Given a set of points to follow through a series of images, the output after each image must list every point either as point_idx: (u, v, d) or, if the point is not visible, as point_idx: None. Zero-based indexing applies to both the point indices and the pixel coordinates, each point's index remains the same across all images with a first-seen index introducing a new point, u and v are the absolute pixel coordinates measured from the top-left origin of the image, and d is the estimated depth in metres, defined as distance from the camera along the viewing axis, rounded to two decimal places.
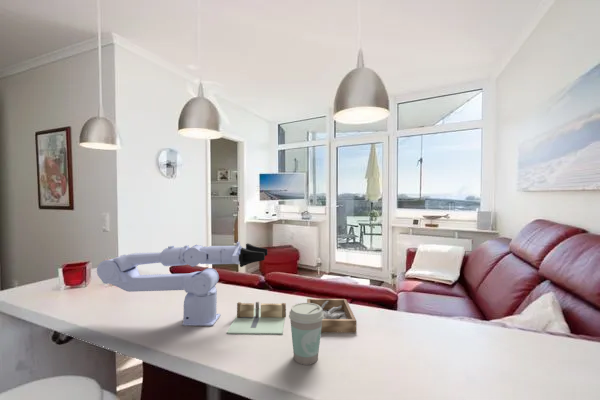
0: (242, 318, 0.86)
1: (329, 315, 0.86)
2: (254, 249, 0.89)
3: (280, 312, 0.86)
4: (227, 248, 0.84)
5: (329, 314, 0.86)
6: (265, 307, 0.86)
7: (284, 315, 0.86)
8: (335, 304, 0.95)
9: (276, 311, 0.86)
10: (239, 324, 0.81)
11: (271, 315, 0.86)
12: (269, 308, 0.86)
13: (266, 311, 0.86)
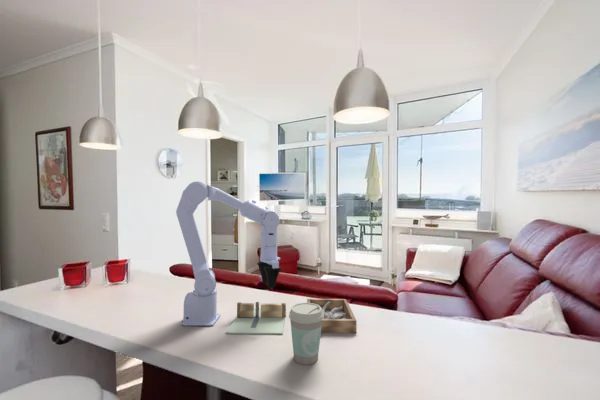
0: (242, 318, 0.86)
1: (331, 316, 0.85)
2: None
3: (280, 312, 0.86)
4: (276, 250, 0.92)
5: (331, 315, 0.85)
6: (265, 307, 0.86)
7: (284, 315, 0.86)
8: (335, 304, 0.95)
9: (276, 311, 0.86)
10: (239, 324, 0.81)
11: (271, 315, 0.86)
12: (269, 308, 0.86)
13: (266, 311, 0.86)
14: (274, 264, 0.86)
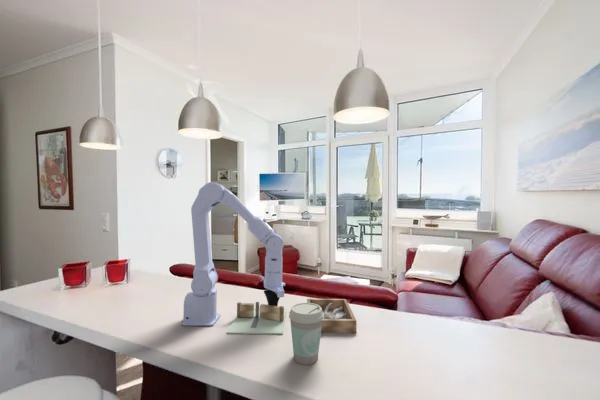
0: (242, 318, 0.86)
1: (334, 317, 0.84)
2: (276, 299, 0.88)
3: (277, 315, 0.84)
4: (281, 276, 0.87)
5: (334, 316, 0.84)
6: (264, 308, 0.86)
7: (281, 319, 0.84)
8: (335, 304, 0.95)
9: (274, 314, 0.84)
10: (239, 324, 0.81)
11: (270, 317, 0.85)
12: (267, 310, 0.85)
13: (265, 312, 0.86)
14: (279, 293, 0.81)
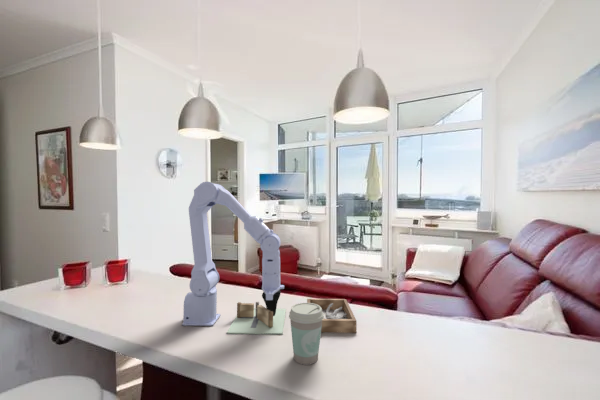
0: (242, 318, 0.86)
1: (335, 318, 0.83)
2: None
3: (267, 320, 0.81)
4: (277, 279, 0.83)
5: (335, 317, 0.84)
6: (259, 309, 0.85)
7: (269, 324, 0.80)
8: (335, 304, 0.95)
9: (265, 317, 0.82)
10: (239, 324, 0.81)
11: (262, 319, 0.83)
12: (261, 312, 0.84)
13: (260, 314, 0.84)
14: (267, 295, 0.77)
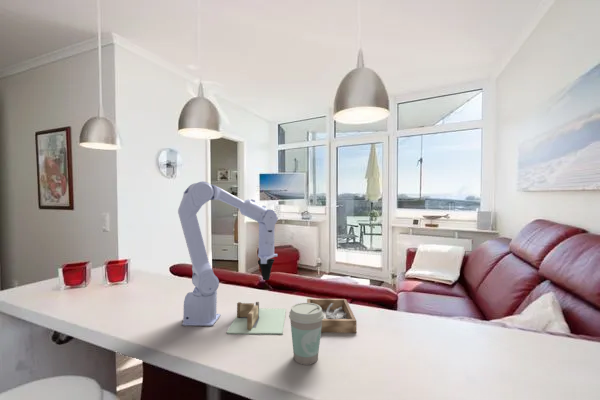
0: (242, 318, 0.86)
1: (336, 318, 0.83)
2: None
3: None
4: (272, 247, 0.96)
5: (335, 317, 0.84)
6: None
7: (247, 326, 0.78)
8: (335, 304, 0.95)
9: None
10: (239, 324, 0.81)
11: None
12: None
13: None
14: (262, 260, 0.90)
